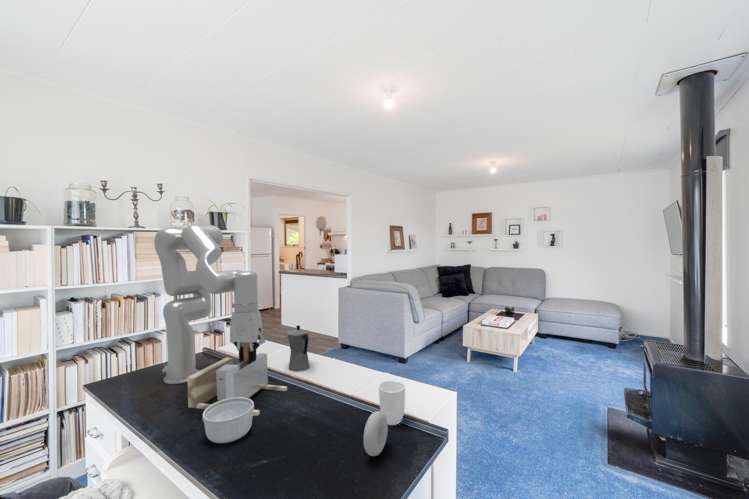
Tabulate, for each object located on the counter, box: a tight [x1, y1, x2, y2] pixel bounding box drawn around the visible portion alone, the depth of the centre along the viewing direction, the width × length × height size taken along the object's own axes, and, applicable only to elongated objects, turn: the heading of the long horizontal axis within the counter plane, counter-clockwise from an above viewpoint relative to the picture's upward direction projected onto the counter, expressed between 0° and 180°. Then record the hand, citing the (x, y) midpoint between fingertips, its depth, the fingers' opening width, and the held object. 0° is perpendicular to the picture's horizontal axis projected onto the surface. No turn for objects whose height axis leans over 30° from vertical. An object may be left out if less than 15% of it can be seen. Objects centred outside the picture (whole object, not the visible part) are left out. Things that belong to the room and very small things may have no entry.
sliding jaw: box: [225, 343, 269, 399], centre depth 111 cm, size 4×19×20 cm, turn 166°
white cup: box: [378, 380, 406, 426], centre depth 97 cm, size 8×8×10 cm
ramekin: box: [202, 397, 255, 444], centre depth 92 cm, size 13×13×7 cm
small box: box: [216, 364, 239, 402], centre depth 113 cm, size 8×6×10 cm
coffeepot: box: [287, 325, 310, 372], centre depth 138 cm, size 15×9×18 cm, turn 37°
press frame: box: [187, 357, 288, 417], centre depth 112 cm, size 26×19×10 cm
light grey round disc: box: [362, 410, 389, 457], centre depth 82 cm, size 10×4×10 cm, turn 155°
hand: (247, 360), depth 111 cm, fingers closed on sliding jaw, 3 cm apart
